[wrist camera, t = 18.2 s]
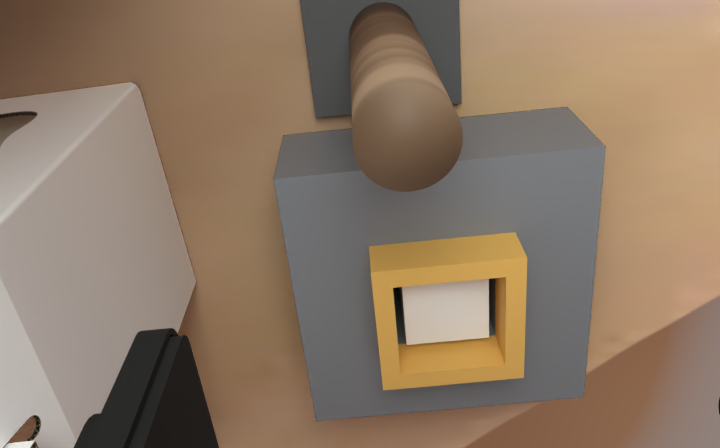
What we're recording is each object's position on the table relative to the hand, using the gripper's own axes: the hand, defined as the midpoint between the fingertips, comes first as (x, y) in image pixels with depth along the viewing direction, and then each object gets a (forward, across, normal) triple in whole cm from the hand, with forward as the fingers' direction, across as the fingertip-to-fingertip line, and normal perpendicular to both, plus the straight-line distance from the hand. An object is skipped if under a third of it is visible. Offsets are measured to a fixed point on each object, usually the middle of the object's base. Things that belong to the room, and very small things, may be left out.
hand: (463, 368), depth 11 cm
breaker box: (+26, -2, +13) cm, 29 cm away
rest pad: (+26, 0, 0) cm, 26 cm away
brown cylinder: (+26, 0, 0) cm, 26 cm away
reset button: (+26, -2, +13) cm, 29 cm away
